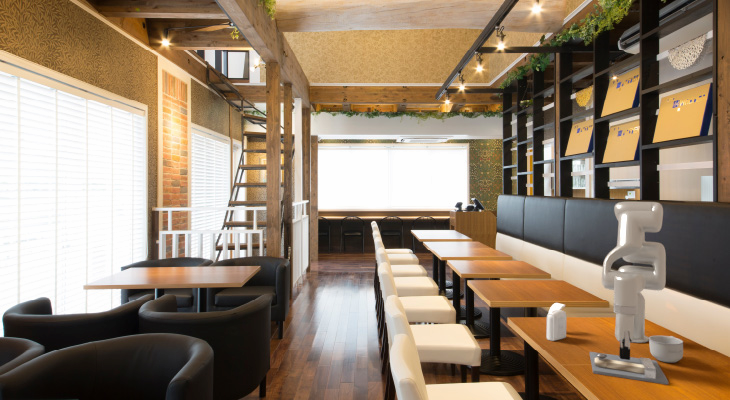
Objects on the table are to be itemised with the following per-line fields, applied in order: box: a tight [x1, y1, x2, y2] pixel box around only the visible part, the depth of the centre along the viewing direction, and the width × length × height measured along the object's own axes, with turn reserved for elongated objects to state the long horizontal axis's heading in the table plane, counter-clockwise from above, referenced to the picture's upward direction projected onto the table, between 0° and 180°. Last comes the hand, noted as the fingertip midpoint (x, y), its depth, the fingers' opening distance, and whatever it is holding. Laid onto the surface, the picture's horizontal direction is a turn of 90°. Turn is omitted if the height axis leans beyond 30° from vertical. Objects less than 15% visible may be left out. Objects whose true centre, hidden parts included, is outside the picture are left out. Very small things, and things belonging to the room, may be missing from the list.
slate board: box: [589, 351, 669, 386], centre depth 158 cm, size 20×22×1 cm
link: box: [595, 352, 644, 374], centre depth 154 cm, size 18×4×4 cm, turn 62°
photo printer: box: [545, 309, 567, 342], centre depth 190 cm, size 10×4×12 cm, turn 123°
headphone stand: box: [548, 302, 566, 313], centre depth 201 cm, size 5×6×12 cm
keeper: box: [639, 357, 656, 379], centre depth 151 cm, size 10×3×5 cm, turn 156°
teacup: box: [648, 335, 684, 363], centre depth 167 cm, size 14×11×8 cm
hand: (624, 358), depth 161 cm, fingers closed
